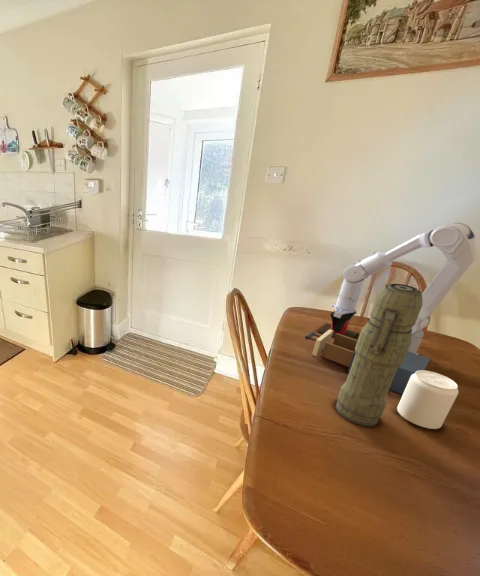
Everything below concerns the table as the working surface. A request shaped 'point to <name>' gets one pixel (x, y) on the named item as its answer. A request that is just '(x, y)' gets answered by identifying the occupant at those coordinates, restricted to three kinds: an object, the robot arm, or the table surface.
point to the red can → (342, 328)
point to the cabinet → (405, 370)
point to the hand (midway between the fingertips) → (338, 329)
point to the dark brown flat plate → (328, 326)
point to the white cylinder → (427, 399)
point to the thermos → (379, 353)
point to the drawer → (334, 347)
